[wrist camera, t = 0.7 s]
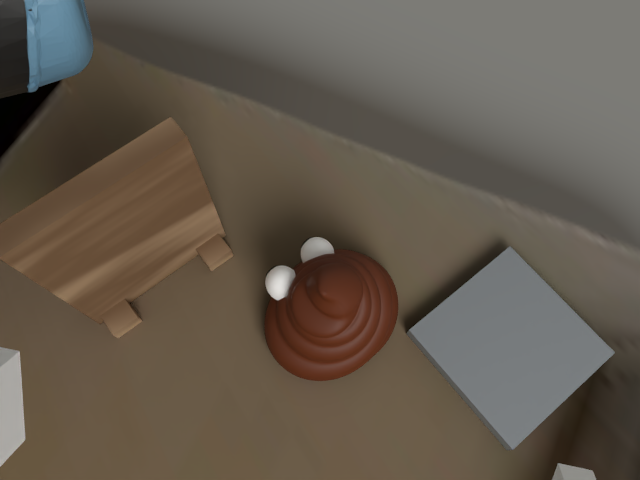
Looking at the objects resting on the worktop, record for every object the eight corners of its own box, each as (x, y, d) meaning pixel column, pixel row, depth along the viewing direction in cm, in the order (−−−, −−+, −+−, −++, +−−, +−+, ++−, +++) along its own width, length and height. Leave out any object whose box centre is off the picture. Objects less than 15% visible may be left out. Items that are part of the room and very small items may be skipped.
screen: (76, 289, 42) (-33, 209, 28) (201, 204, 44) (153, 96, 31) (112, 342, 40) (14, 284, 27) (238, 251, 43) (205, 158, 30)
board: (406, 333, 40) (408, 329, 39) (504, 251, 43) (509, 246, 42) (507, 450, 38) (512, 449, 37) (606, 355, 40) (614, 352, 39)
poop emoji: (316, 410, 39) (317, 394, 30) (238, 317, 41) (218, 278, 32) (420, 315, 41) (448, 275, 32) (341, 233, 43) (347, 175, 35)
